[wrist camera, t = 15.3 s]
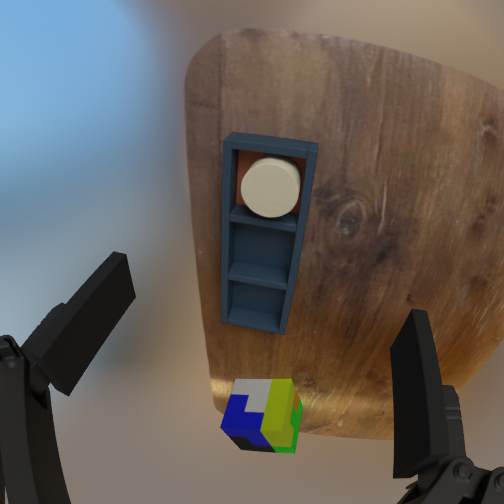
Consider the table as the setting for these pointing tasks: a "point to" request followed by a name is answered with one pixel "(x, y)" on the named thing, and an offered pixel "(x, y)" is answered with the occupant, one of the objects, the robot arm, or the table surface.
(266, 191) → the cylinder
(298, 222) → the grid
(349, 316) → the table surface
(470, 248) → the table surface
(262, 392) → the puzzle toy
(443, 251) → the table surface
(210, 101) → the table surface
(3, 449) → the robot arm
